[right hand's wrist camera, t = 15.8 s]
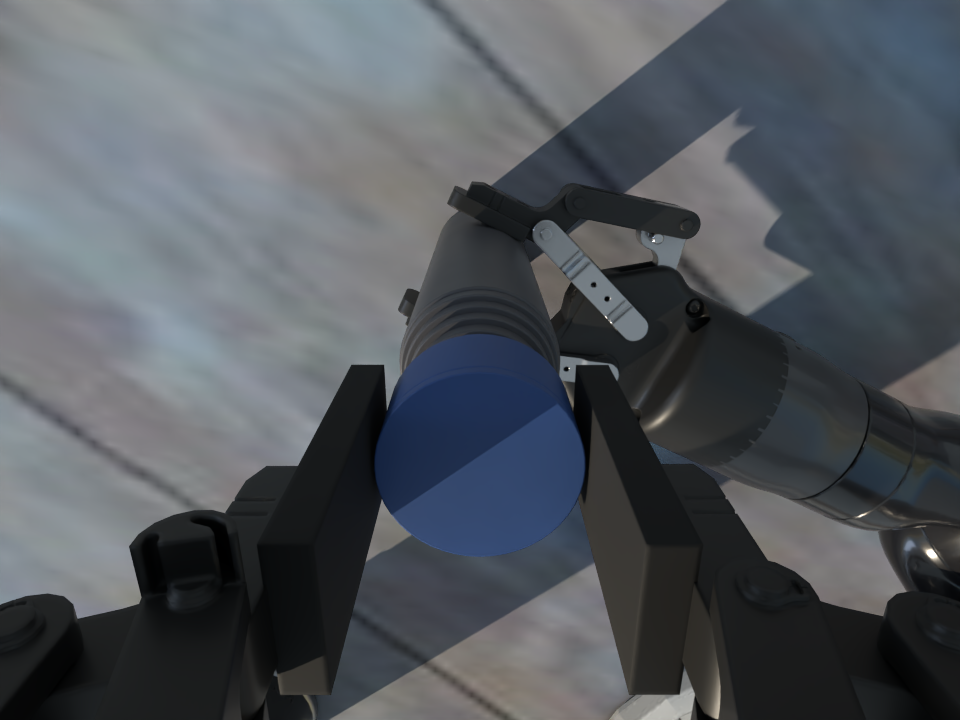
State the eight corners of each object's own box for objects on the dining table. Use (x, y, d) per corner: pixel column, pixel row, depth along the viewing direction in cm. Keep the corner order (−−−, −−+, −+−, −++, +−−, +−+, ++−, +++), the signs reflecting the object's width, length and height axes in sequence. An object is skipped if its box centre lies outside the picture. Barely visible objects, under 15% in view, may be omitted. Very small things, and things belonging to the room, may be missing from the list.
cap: (464, 524, 16) (461, 589, 14) (352, 403, 15) (329, 453, 12) (605, 433, 15) (626, 487, 13) (497, 295, 14) (501, 329, 11)
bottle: (434, 209, 34) (353, 360, 12) (519, 202, 34) (590, 345, 12) (442, 292, 35) (384, 554, 14) (524, 286, 35) (592, 541, 14)
